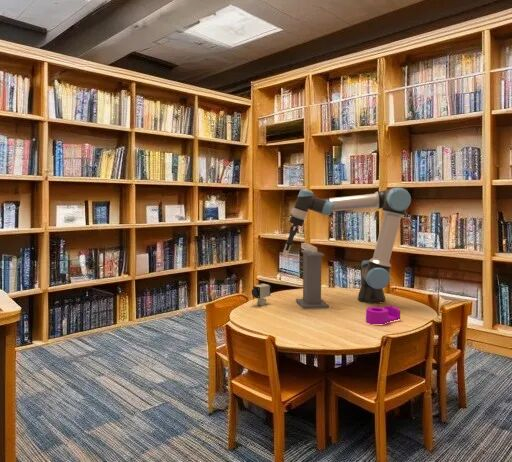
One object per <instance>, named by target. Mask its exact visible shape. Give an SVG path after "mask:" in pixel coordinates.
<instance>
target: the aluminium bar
mask: <svg viewBox="0 0 512 462" xmlns="http://www.w3.org/2000/svg"><path fill="white" fill-rule="evenodd" d="M300 244H301V245H300V246H301V250H306V251H308V252H310V253H317V251H318V247H316V246H314V245H312V244H311V243H310V244H309V243H307V242H301V243H300Z"/></svg>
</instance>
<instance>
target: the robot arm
mask: <svg viewBox="0 0 512 462" xmlns="http://www.w3.org/2000/svg"><path fill="white" fill-rule="evenodd" d="M314 194H315V193H314V192H313V191H311V190H308V189H305V188H301V189H300V190H299V193H298V195H297V198H296V201H295V204H294V207H293V208H292V209H291V211H292V213H291V216H290V218H289V223H290V224H292V226H291V225H290V228H289V233H288V234H289V235H288V237H287V240H286V241H285V246H284V249H283V253H282V256H284V257H286V258H287V257H288V255H289V252H290V249H291V247H292V243H294V239H295V236H296V233H298V230H299V229H298V227H303V225H304V222H305V220H306V218H307V214H308V211H309V210H310V211H312V212H315V213H318V214H321V215H324V216H328V217H329V216H330V215H331V214H332V212H337V211H349V210H359V209H360V210H361V209H370V208H371V209H372V208H376V209H378V210H379V209H382V213H383V218H382V221H381V226H380V230H379V232H378V238H377V241H376V245H375V249H374V252H373V255H372V258H370V259H369V260H362V261H361V265H360V266H361V278H360V279H361V283H360V286H361V287H360V289H359V292H358V294H357V301H359V302H361V303H364V302H366V303H365V304H374V303H376V304H381V303H380V302H384V301H385V302H386V296H385V291H384V288H386V287H387V286H388V285H389V283H390V280H391V275H390V272H391V270H392V269H391V267H392V264H391V263H390V260H391V258H392V257H391V256H392V252H393V249H394V245H395V242H396V238H397V235H398V230H399V227H400V223H401V219H402V218H403V217H405V216H406V212H407V209H408V208H409V206H410V205H411V202H412V197H411V194H410V193H409V191H408V190H407V189H406V188H402V187H392V188H388V189H384V190H378V191H375V192H374V193H367V194H366V193H365V194H359V195H349V196H347V195H346V196H338V197H329V198H320V197H316V196H314ZM385 302H384V303H385Z"/></svg>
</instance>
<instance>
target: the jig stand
mask: <svg viewBox="0 0 512 462" xmlns="http://www.w3.org/2000/svg"><path fill="white" fill-rule="evenodd" d="M300 253H302V256H303V257H302V298H295V302H296V303H297V305H299V306H300V307H301V309H303V310H307V309H308V310H309V309H313V310H314V309H329V306H330V305H329V304H328V303H327V302H325V300H323V299H322V257H325V254H324V253H323V252H320V251H319V250H317V253H310V252H308V251H306V250H304V249H301V250H300Z"/></svg>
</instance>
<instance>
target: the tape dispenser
mask: <svg viewBox="0 0 512 462" xmlns="http://www.w3.org/2000/svg"><path fill="white" fill-rule="evenodd" d="M398 319H400V320H401V310H400V308H399V307H396V306H392V305H385V306H384V307H379V306H368V307H366V308H365V322H366V324H368V323H370V324H369V325H371V324H385V323H387V322H390V321H394V320H398Z"/></svg>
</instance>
